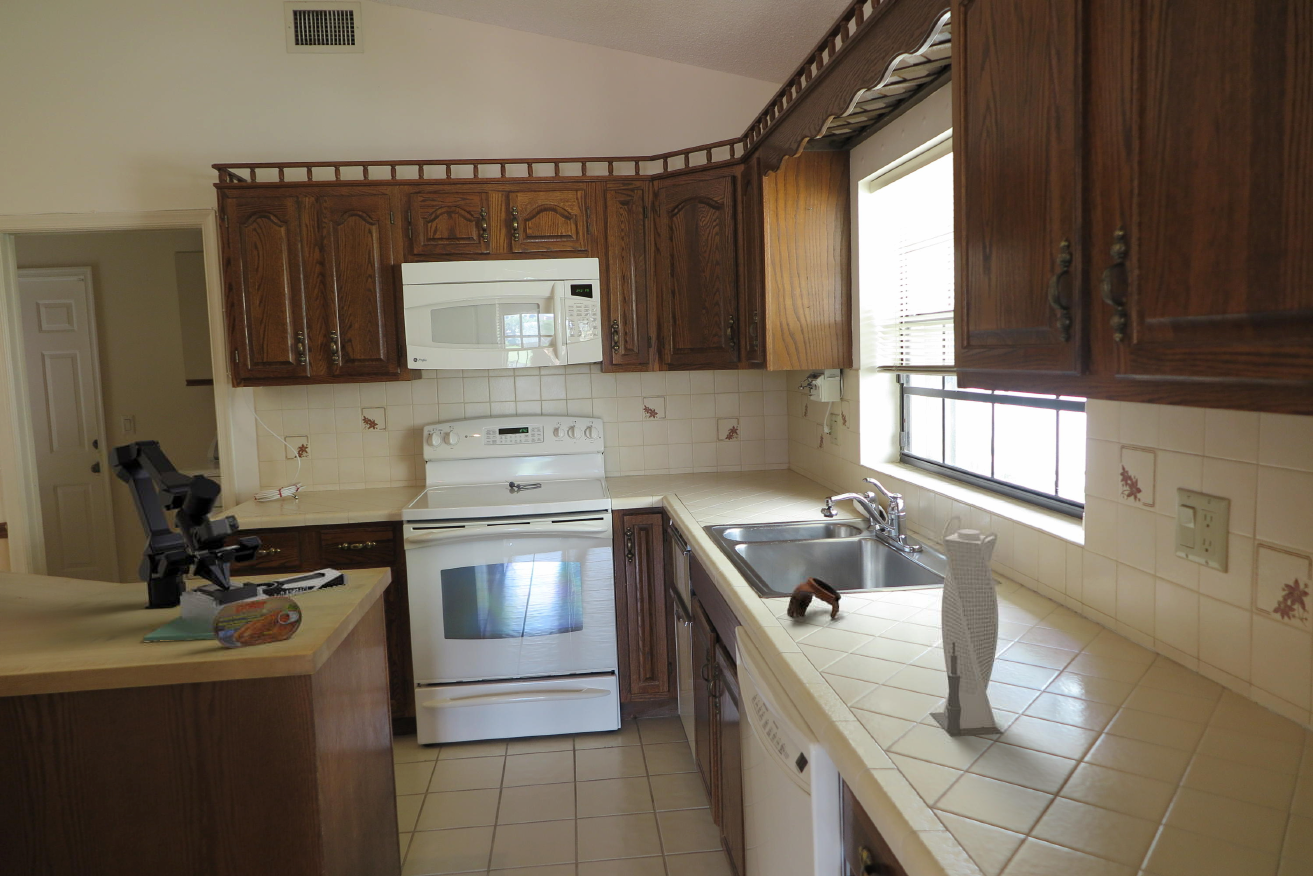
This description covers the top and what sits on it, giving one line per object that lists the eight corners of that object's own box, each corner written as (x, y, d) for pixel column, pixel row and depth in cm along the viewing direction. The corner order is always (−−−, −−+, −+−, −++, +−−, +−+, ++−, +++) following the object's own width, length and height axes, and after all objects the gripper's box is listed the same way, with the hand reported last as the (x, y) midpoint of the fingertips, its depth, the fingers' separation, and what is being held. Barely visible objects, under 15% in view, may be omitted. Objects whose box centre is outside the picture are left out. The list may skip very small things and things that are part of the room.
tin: (214, 652, 150) (210, 607, 149) (214, 647, 153) (211, 603, 152) (303, 637, 157) (300, 594, 156) (302, 632, 160) (299, 590, 159)
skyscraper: (925, 711, 115) (924, 515, 113) (982, 708, 116) (982, 512, 113) (950, 738, 107) (950, 527, 104) (1010, 735, 107) (1012, 524, 105)
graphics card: (347, 572, 195) (234, 595, 178) (348, 586, 196) (235, 610, 179) (331, 566, 203) (221, 586, 186) (332, 579, 203) (222, 601, 186)
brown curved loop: (795, 607, 167) (816, 573, 166) (832, 636, 161) (853, 601, 160) (768, 607, 157) (789, 571, 156) (805, 637, 152) (828, 600, 151)
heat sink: (182, 619, 167) (178, 583, 167) (231, 607, 175) (228, 573, 174) (216, 632, 158) (213, 594, 157) (267, 618, 166) (264, 582, 165)
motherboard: (143, 642, 157) (143, 637, 157) (197, 611, 177) (196, 606, 176) (250, 637, 158) (250, 632, 158) (291, 607, 178) (291, 602, 177)
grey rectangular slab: (196, 591, 169) (195, 586, 169) (216, 586, 172) (215, 582, 172) (225, 597, 161) (224, 592, 161) (245, 592, 164) (244, 587, 164)
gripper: (158, 512, 159) (189, 575, 153) (254, 498, 174) (285, 554, 168) (145, 548, 164) (174, 610, 159) (239, 531, 179) (268, 587, 173)
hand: (227, 589), depth 165 cm, fingers closed, pressing on grey rectangular slab
